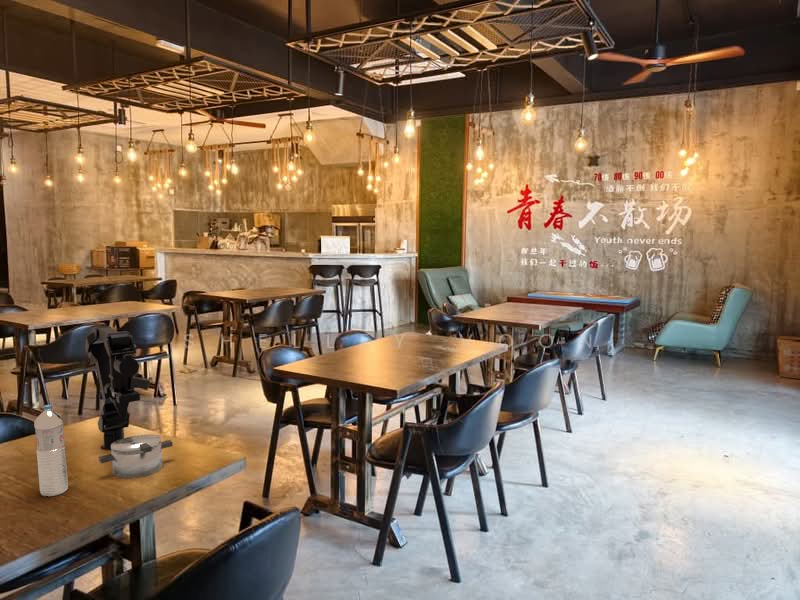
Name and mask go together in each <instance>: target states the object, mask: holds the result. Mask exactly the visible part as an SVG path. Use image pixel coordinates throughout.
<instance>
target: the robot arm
mask: <svg viewBox="0 0 800 600" xmlns="http://www.w3.org/2000/svg"><path fill="white" fill-rule="evenodd" d="M84 348H85V353H87V354H88V358H89V360H90V361H91V362H92V363H94V365H95V367H96V371H97V376H98V377H97V378H98V381H99V386H100V391H101V396H102V401H103V405H102V407H101V409H100V413H99V414H100V415H99V417H98V420H97V421H98V422H97V426H98V430H99V432H101V433H103V445H101V446H100V449H103V450H108V449H109V450H111V444H112V443H114V442H115V441H118V440H120V439H123V438H125V432H124V431H125V430H124V429H125V428H129V425H130V416H131V413H129V410H128V409H129V404H130V403H133V402H138V401H141V393H139V392H138V391H136V390H135V389H142V390H144V391H148V390H149V386H150V384H151V380H150V379H148V378H145V377H143V374H141V373H138V372H139V368H140V364H139V362H138V360H137V359H135V358H133V357H132V355H133V354H137V345H136V341H135V340H134V338H133V336H132V334H130V332H129V331H127V330H124V331H117V330H116V329H114V328H112V326H109V325H104V326H96V327H94V328H93V332H91V333H90V334H89V335H87V337H86V339H85V344H84Z"/></svg>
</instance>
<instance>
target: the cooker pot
mask: <svg viewBox="0 0 800 600" xmlns="http://www.w3.org/2000/svg"><path fill="white" fill-rule="evenodd" d="M173 444H174V443H173V441H172V440H171V439H168V440H164V441H161V442H160V443H159V444H157V445H155V446H153V447H152V451H150V452H146V453H144V452H143V451H141V450H138V451H132V452H115V451H112V450H111V449H110V450H111V451H110V453H108V454H105V455H100V456H98V462H99V463H100V464H105V463H109V462H110V463H111V469H112V475H113V476H114V477H116V478H118V479H119V478H120V479H136V478H142V477H146V476H149V475H152V474H155V473H156V472H159V470H160V468H161V467H162V468H163V455H162V454H163V451H162V450H163V449H166V448H172V447H173ZM162 468H161V469H162Z"/></svg>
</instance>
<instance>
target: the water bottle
mask: <svg viewBox="0 0 800 600" xmlns="http://www.w3.org/2000/svg"><path fill="white" fill-rule="evenodd" d="M52 407H53V406H52V404H45V405H44V406H43V410H44V411H42V412H41V413H40V414H39V415H38V416H37V418H36V419H35V420H34V423H33V424H34V427H33V428H34V429H35V430H34V431H35V441H36V443H35V444H36V458H37V471H38V472H37V473H38V484H39V492H40V495H41V496H42V497H46V496H48V497H55V496H59V495H62V494H64V493H65V492H66V491H67V490H68V489H69V479H68V478H69V477H68V468H67V455H66V452H67V451H66V444H65V433H64V418H63V416H62V414H61V415H60V413H58V412H57V411H54V410H52Z"/></svg>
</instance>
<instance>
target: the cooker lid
mask: <svg viewBox="0 0 800 600" xmlns="http://www.w3.org/2000/svg"><path fill="white" fill-rule="evenodd" d="M160 442H162V438H161V436H160V435H158V434H138V435H132V436H128V437H127V436H126V437H124V438H123V439H120V440H118V441H115V442H114V443H112V444H111V449H110V450H112V451H115V452H132V451H138V450H141V451H143V452H144V453H146V452H150V451H152V447H153V446H155V445H157V444H159V443H160Z"/></svg>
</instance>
